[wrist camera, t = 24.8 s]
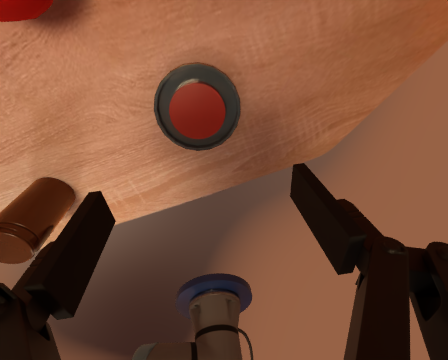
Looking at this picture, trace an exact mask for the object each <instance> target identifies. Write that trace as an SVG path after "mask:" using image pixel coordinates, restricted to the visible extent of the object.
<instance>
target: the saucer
mask: <svg viewBox="0 0 448 360" xmlns="http://www.w3.org/2000/svg"><path fill="white" fill-rule="evenodd" d="M190 81H203V82H206V83H208V84H210V85H212V86H213V87H214V88H215V89H216V90H217V91H218V92H219V93H220V95H221V97H222V99H223V102H224V105H225V119H224V122H223V124H222V126H221V128H220V129H219V130H218V131H217V132H216V133H215V134H214V135H212V136H210V137H208V138H204V139H193V138H189V137H186V136H184V135H183V134H181V133H180V132H179V131H178V130H177V129H176V128H175V127H174V125H173V123H172V121H171V118H170V114H169V106H170V102H171V99H172V97H173V94H174V93H175V91H176V90H177V89H178V88H179V87H180V86H181V85H183V84H185V83H187V82H190ZM154 112H155V116H156V120H157V123H158V125H159V127H160V128H161V130H162V132H163V133H164V135H165V136H166V137H168V138H169V139H170V140H171V141H172V142H173V143H175V144H177V145H179V146H181V147H183V148H185V149H190V150H196V151H200V150H208V149H212V148H214V147H216V146H219V145H221V144H222V143H223V142H225V141H226V140H227V139H228V138H229V137H230V136H231V135H232V133H233V132H234V130H235V128H236V127H237V124H238V121H239V117H240V99H239V96H238V94H237V91H236V88H235V86H234V85H233V83H232V82H231V81H230V80H229V78H228V77H227V76H226V75H225V74H224V73H223V72H221V71H220V70H218V69H217V68H215V67H213V66H211V65H207V64H204V63H188V64H183V65H181V66H179V67H177V68H175V69H173V70H171V71H170V72H169V73H168V74H167V75H166V76H165V78H164V79H163V80H162V81H161V82H160V84H159V87H158V89H157V91H156V94H155V99H154Z"/></svg>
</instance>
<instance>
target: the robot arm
mask: <svg viewBox="0 0 448 360" xmlns="http://www.w3.org/2000/svg"><path fill="white" fill-rule="evenodd" d="M290 197H291V198H292V200H293V202H294V203H295V205H296V207H297V208H298V210H299V211H300V213H301V215H302V216H303V218H304V220H305V221H306V223H307V225H308V226H309V228H310V229H311V231H312V233H313V235H314V236H315V238H316V239H317V241H318V243H319V244H320V246H321V248H322V249H323V251H324V252H325V254H326V256H327V258H328V259H329V261H330V263H331V264H332V266H333V267H334V269H335V271H336V272H337V274H338V275H341V274H347V273H352V272H353V270H354V268H355V265H356V266H357V268H358V269H359V271H360V274H359V277H358V279H357V281H356V285H357V289H356V295H355V300H354V306H353V311H352V317H351V322H350V328H349V333H348V339H347V345H346V350H345V355H344V360H410V308H409V296H410V299H411V302H412V305H413V308H414V311H415V314H416V317H417V321H418V323H419V327H420V330H421V332H422V336H423V339H424V342H425V345H426V348H427V351H428V354H429V357H430V360H448V244H446V243H443V242H432V243H429V245H428V246H427V248H426V249H421V248H412V247H405V246H404V245H403V244H402V243H401V242H399V241H398V240H395V239H393V238H390V237H385V236H383V235H382V234H381V233H380V232H379V231H378V230H377V228H376V227H374V225H373V224H372V223H371V222H370V221H369V220H368V219H367V218H366V217H364V215H363V214H362V213H361V212H359V210H358V209H357V208H356V207H355V206H354V205H353V204H352V203H351V202H349V201H347V200H345V199H339V200H336V199H335V198H334V197H333V195H332V194H331V193H330V192H329V191H328V190H327V189H326V188H325V186H324V185H323V184H322V183H321V182H320V181H319V180H318V178H317V177H316V176H315V175H314V174H313V173H312V172H311V170H310V169H309V168H308V167H307V166H306V165H305V164H304V163H301V164H294V165H293V172H292V182H291V193H290ZM115 222H116V221H115V219H114V217H113V215H112V213H111V211H110V209H109V207H108V205H107V203H106V201H105V199H104V197H103V195H102V193H101V191H96V192H89V193H88V195H87V196H86V197H85V199H84V200H83V202H82V203H81V205H80V206H79V207H78V209H77V210H76V212H75V213H74V215H73V216H72V217H71V219H70V220H69V222H68V223H67V225H66V226H65V228H64V229H63V230H62V232H61V233H60V235H59V236H58V238H57V239H56V240H55V241H53V242H50V243H49V244H47V245H46V246H45V247H44V248H43V249H42V250H41V251H40V252H39V253H38V255H37V256H36V258H35V260H33V262H32V263H31V265H30V267H29V268H27V270H26V271H25V273H24V274H23V275H22V277H21V278H20V279H19V281H18V282H17V283H16V285H15V286H14V287H13V289H12V290H10V289H9V288H8V287H7V286H6V285H5V284H3V283H0V360H61V359H60V355H59V353H58V349H57V346H56V343H55V340H54V337H53V334H52V331H51V328H50V326H49V324H48V323H47V322H46V321H47V319H48V318H49V316H50V314H51V315H52V316H53V317H55V318H56V319H57V320H59V319H66V318H72V317H74V315H75V312H76V310H77V308H78V305H79V303H80V301H81V299H82V296H83V294H84V292H85V290H86V287H87V285H88V283H89V280H90V278H91V276H92V274H93V272H94V269H95V267H96V265H97V262H98V260H99V258H100V255H101V253H102V251H103V249H104V247H105V244H106V242H107V240H108V237H109V235H110V233H111V230H112V228H113V226H114V224H115ZM240 306H241V304H240V298H239V296H238V295H237V294H236V293H235V292H233V291H231V290H228V289H221V288H217V289H209V290H205V291H202V292H200V293H198V294H196V295H195V296H193V297H192V298H191V300H190V302H189V314H190V318H191V321H192V324H193V328H194V331H195V342H186V343H158V342H157V343H154V344H145V345H142V346H140V347H139V348H138V349H137V350H136V352H135V354H134V356H133V358H132V360H242V355H241V347H240V341H239V335H238V332H240V333H242V334H243V335H244V336H245V338H246V340H247V342H248V344H249V348H250V354H251V360H253V353H252V347H251V343H250V341H249V338H248V336H247V334H246V333H245V332H244V331H242V330H241V329H239V328H238V321H239V314H240Z"/></svg>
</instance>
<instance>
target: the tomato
mask: <svg viewBox="0 0 448 360" xmlns="http://www.w3.org/2000/svg"><path fill="white" fill-rule="evenodd" d="M52 3H53V0H0V22H9V21H21V20H28V19H35V18H37V17H38V16H40V15H41V14H42V13H44V12H45V11H46V10H47V9H48V8H49V7H50V6H51V5H52Z"/></svg>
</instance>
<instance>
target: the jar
mask: <svg viewBox="0 0 448 360" xmlns="http://www.w3.org/2000/svg"><path fill="white" fill-rule="evenodd" d="M74 201H75V193H74V191H73V190H72V188H71V187H70V186H69V185H67V184H66V183H64V182H63V181H60V180H58V179H55V178H40V179H37V180H36V181H34V182H33V183H32V184H31V185H30V186H29V187H28V188H27V189H26V190H24V191H23V192H22V193H21V194H20V195H19V196H18V197H17V198H16V199H14V200H13V201H12V202H11V203H10V204H9V205H8V206H7V207H6V208H4V209H3V210H2V211H1V212H0V262H1V263H7V264H18V263H23V262H26V261H27V260H29V259H31V258H32V257H33V256H34V255H35V252H37V251H38V250H39V249H40V248H41V246H42V245H43V244H44V242H45V241H46V240H47V238H48V237H49V236H50V234H51V233H52V231H53V230H54V229H55V227H56V226H57V225H58V223H59V222H60V221H61V219H62V218H63V217H64V215H65V214H66V212H67V211H68V210H69V208H70V207H71V206H72V204H73V203H74Z"/></svg>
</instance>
